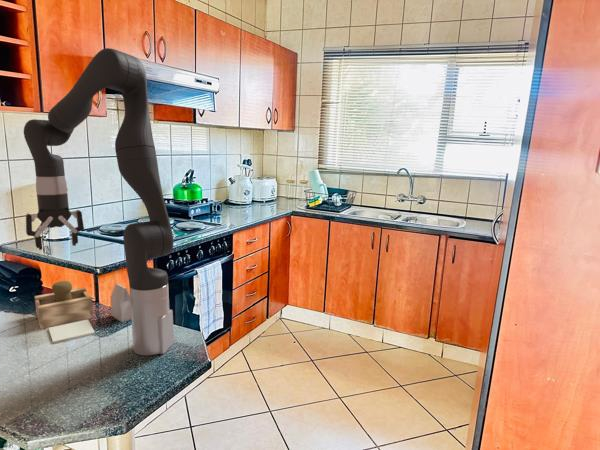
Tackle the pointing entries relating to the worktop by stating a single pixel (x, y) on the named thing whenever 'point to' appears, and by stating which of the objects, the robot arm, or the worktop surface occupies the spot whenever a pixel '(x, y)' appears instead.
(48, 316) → the open rectangular wooden frame
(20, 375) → the worktop surface
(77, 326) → the cream mat
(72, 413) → the worktop surface
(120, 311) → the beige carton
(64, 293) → the cork
